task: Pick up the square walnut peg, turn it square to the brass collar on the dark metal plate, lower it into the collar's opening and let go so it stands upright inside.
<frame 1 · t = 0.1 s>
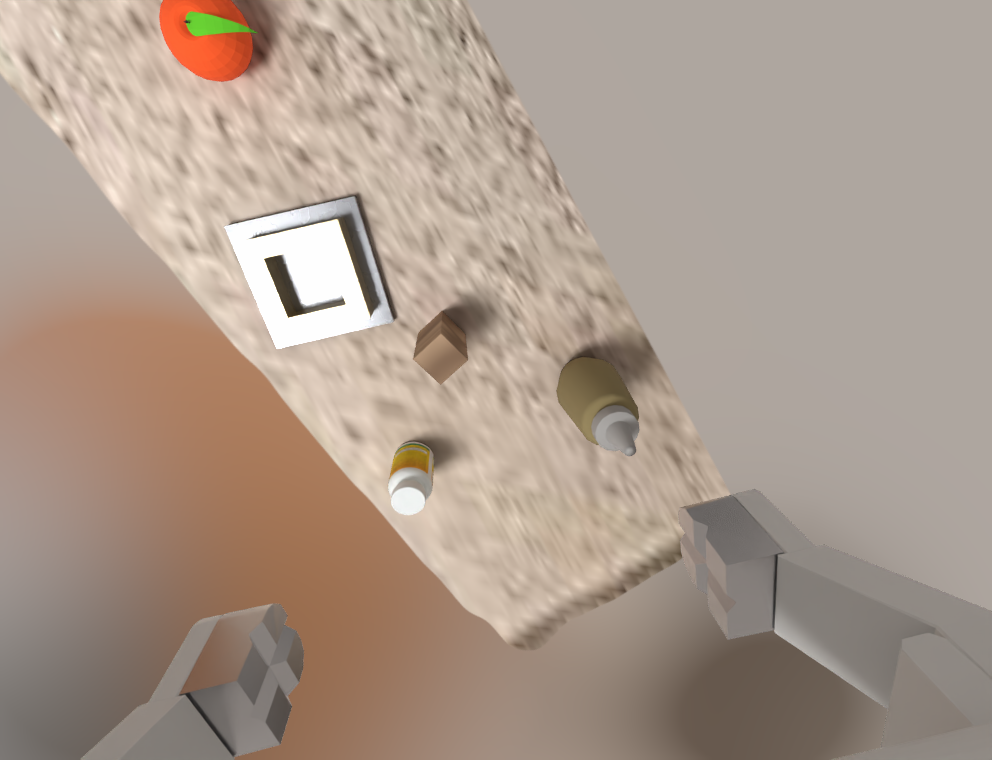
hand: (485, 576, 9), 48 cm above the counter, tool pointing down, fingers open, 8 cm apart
peg: (441, 333, 57), on the counter
collar: (315, 275, 53), on the counter
supplement bottle: (414, 456, 64), on the counter
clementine: (232, 45, 44), on the counter
squeeze bottle: (580, 376, 61), on the counter
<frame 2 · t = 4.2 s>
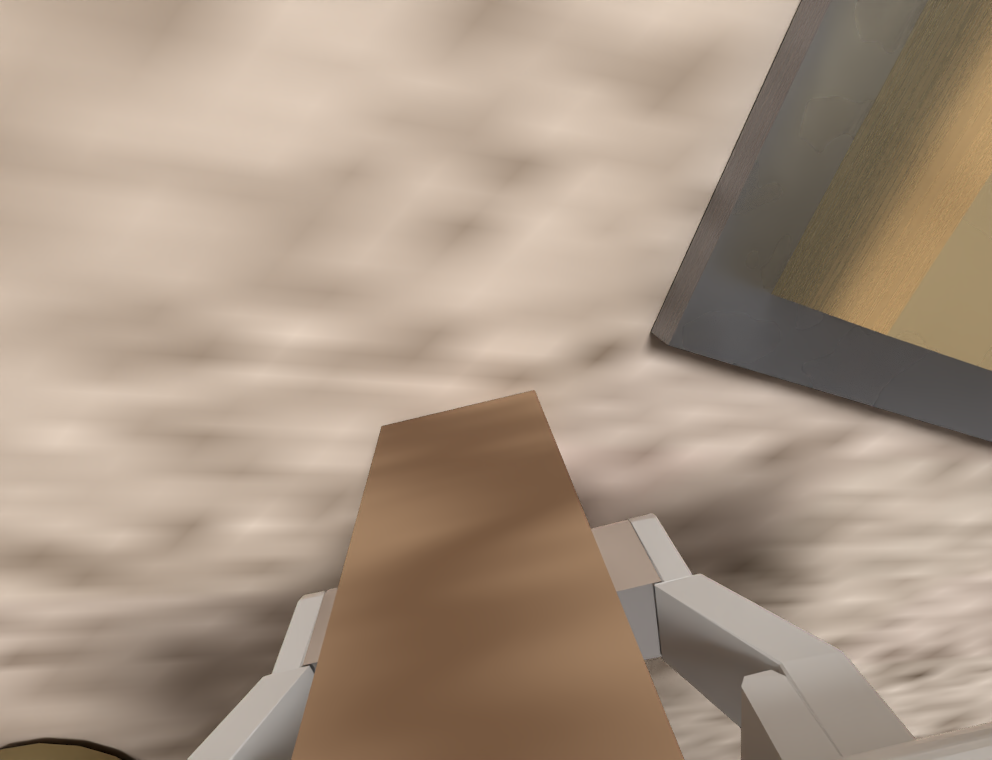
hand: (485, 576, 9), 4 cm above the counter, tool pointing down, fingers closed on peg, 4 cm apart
peg: (476, 472, 13), on the counter, touching gripper
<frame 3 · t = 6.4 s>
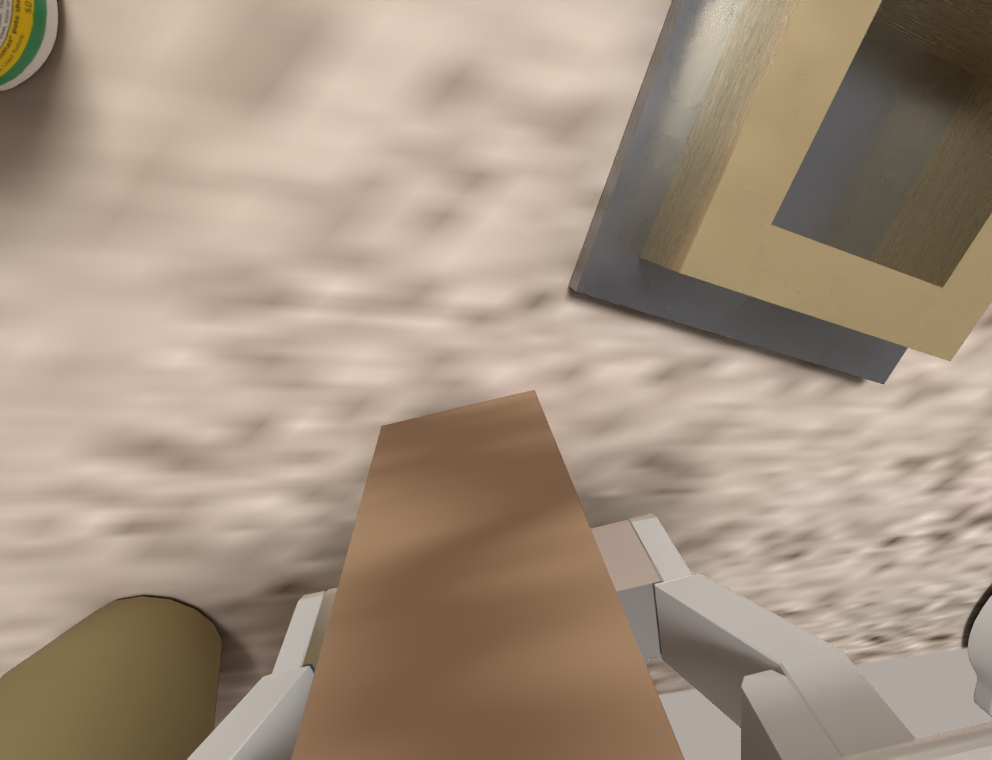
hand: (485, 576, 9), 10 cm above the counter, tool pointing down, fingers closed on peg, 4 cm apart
peg: (476, 471, 13), point 6 cm above the counter, touching gripper
collar: (820, 150, 17), on the counter
squeeze bottle: (159, 635, 22), on the counter
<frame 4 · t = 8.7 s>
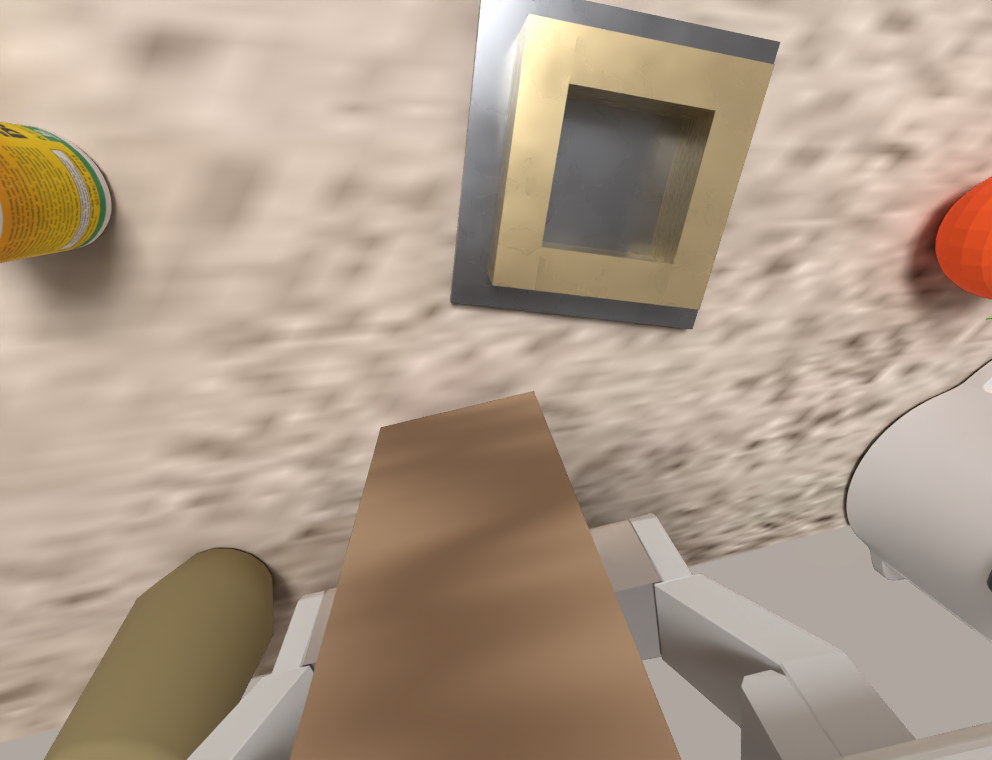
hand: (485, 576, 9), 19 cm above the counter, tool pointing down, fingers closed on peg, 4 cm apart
peg: (475, 473, 13), point 15 cm above the counter, touching gripper
collar: (598, 181, 24), on the counter
supplement bottle: (57, 190, 22), on the counter
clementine: (950, 236, 28), on the counter
squeeze bottle: (230, 577, 32), on the counter
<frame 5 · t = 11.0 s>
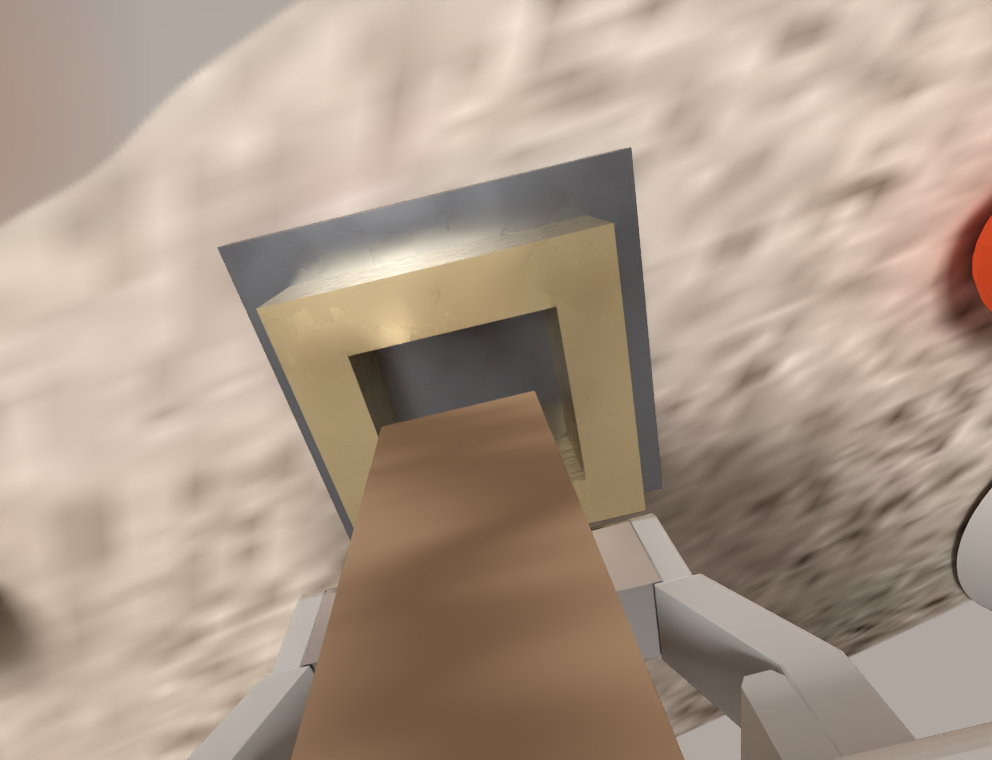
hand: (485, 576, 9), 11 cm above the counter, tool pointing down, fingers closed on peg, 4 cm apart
peg: (475, 472, 13), point 7 cm above the counter, touching gripper
collar: (472, 375, 19), on the counter
when the fingers open (6 cm above the counter, at t = 13.2 s): peg stays where it is, resting on collar.
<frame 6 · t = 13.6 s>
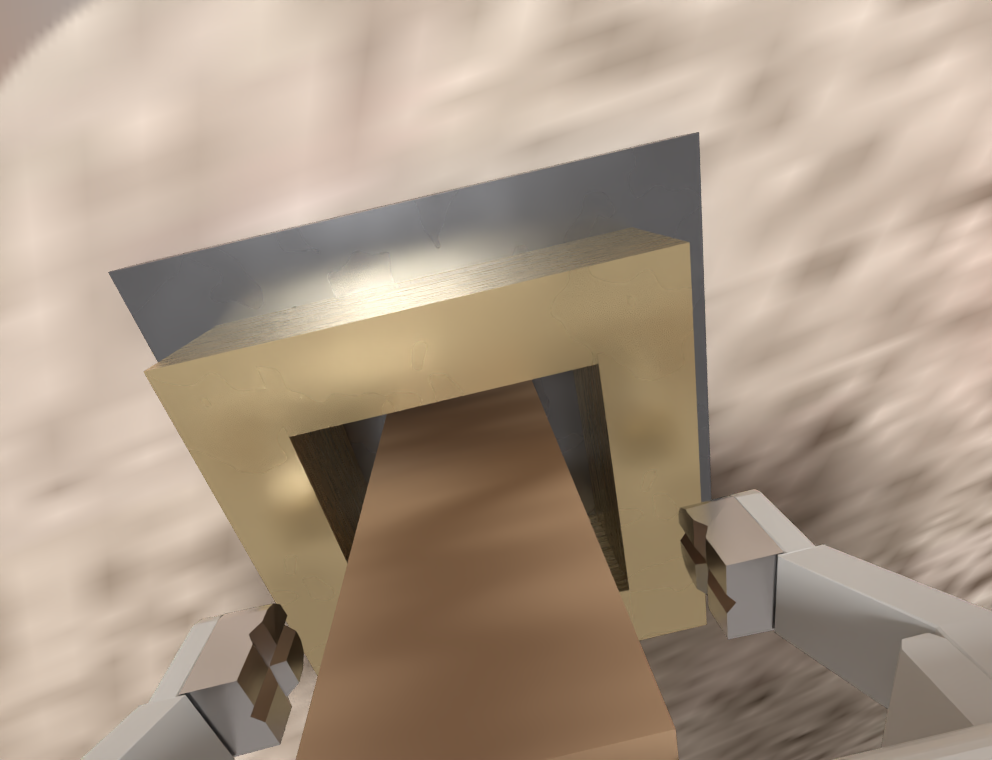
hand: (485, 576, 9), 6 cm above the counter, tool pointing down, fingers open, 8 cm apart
peg: (475, 453, 14), point 1 cm above the counter, touching collar
collar: (471, 436, 15), on the counter
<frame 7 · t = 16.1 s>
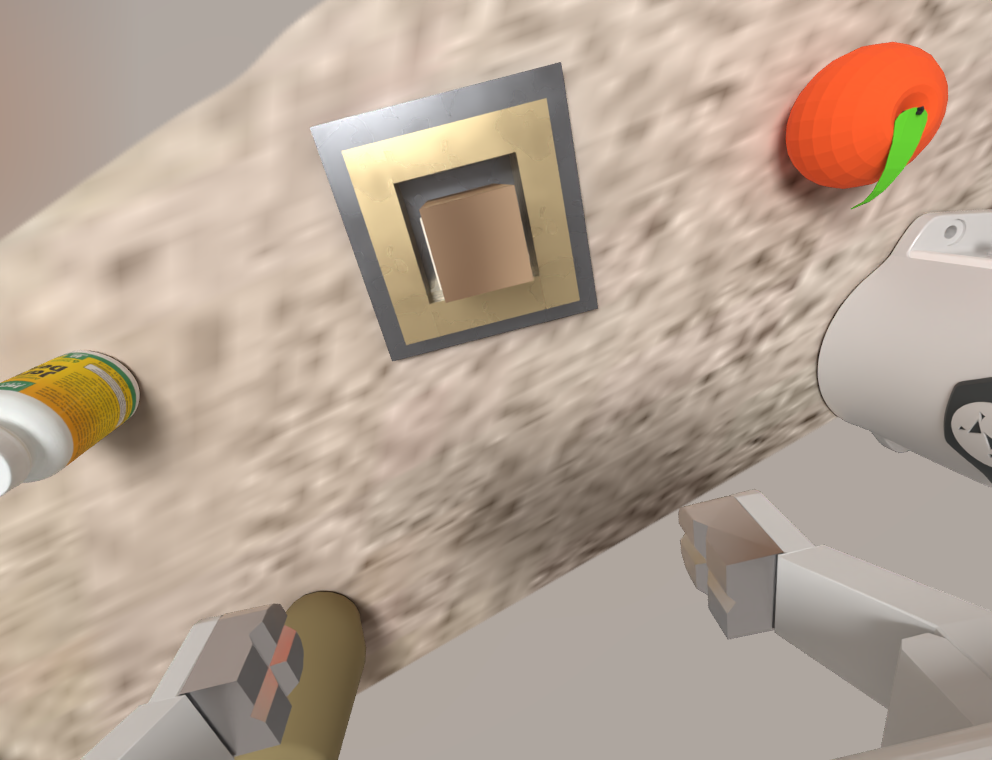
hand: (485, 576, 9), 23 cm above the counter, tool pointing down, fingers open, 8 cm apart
peg: (469, 226, 28), point 1 cm above the counter, touching collar
collar: (467, 225, 29), on the counter
supplement bottle: (101, 385, 31), on the counter
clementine: (810, 136, 29), on the counter
squeeze bottle: (325, 613, 41), on the counter
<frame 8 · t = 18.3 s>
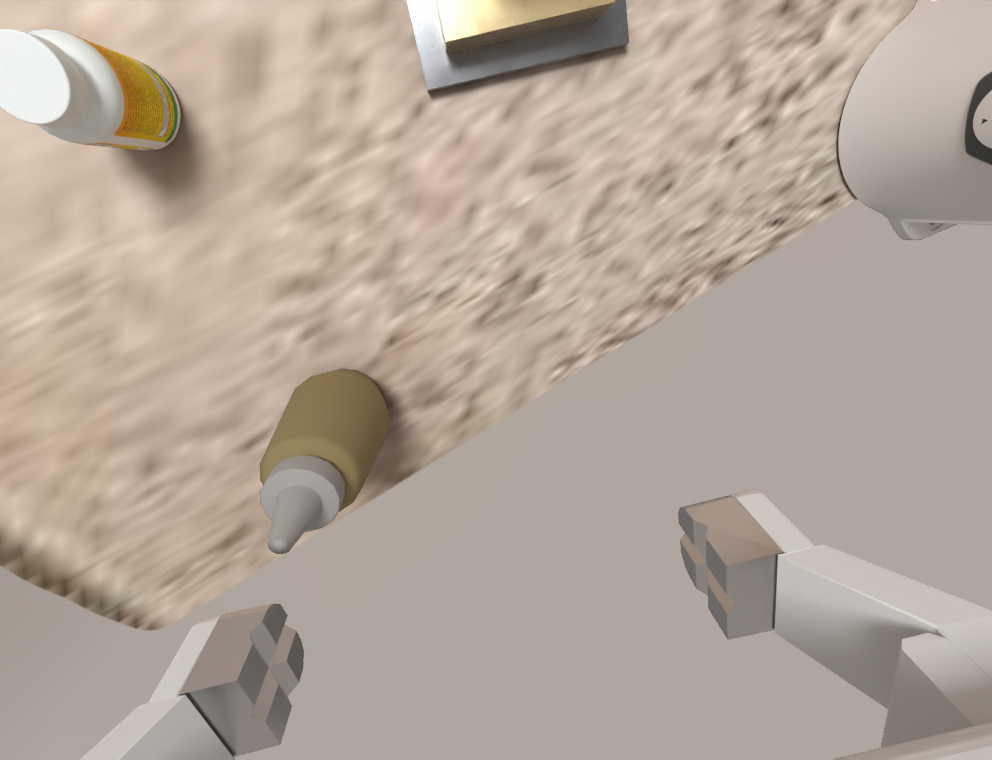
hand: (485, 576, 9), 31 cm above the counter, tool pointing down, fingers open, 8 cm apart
supplement bottle: (143, 107, 32), on the counter
squeeze bottle: (348, 397, 41), on the counter
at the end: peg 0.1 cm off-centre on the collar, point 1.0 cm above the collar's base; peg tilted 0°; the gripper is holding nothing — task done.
